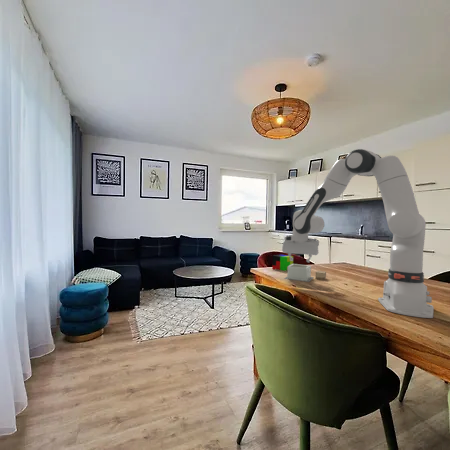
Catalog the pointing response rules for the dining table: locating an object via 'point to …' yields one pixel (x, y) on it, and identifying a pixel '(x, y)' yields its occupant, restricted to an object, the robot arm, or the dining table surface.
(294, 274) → the grey box
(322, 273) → the oak cube
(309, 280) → the tray
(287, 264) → the puzzle toy
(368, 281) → the dining table surface
